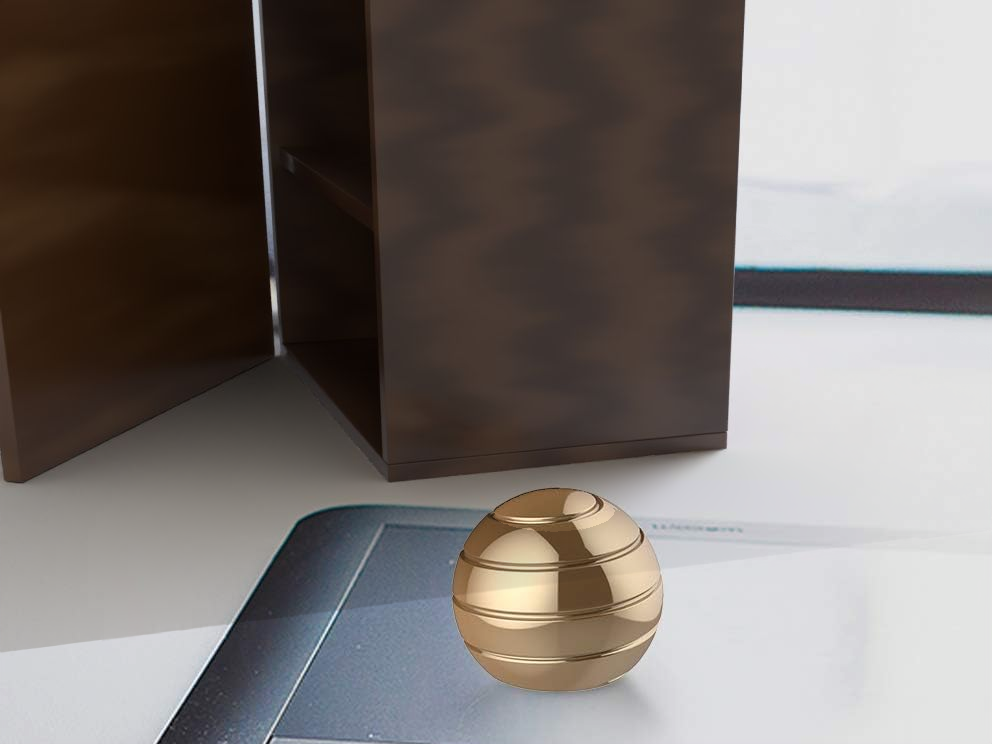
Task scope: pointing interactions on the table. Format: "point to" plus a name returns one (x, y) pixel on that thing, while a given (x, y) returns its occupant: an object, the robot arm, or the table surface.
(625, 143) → the cupboard
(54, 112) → the cupboard door
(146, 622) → the table surface
